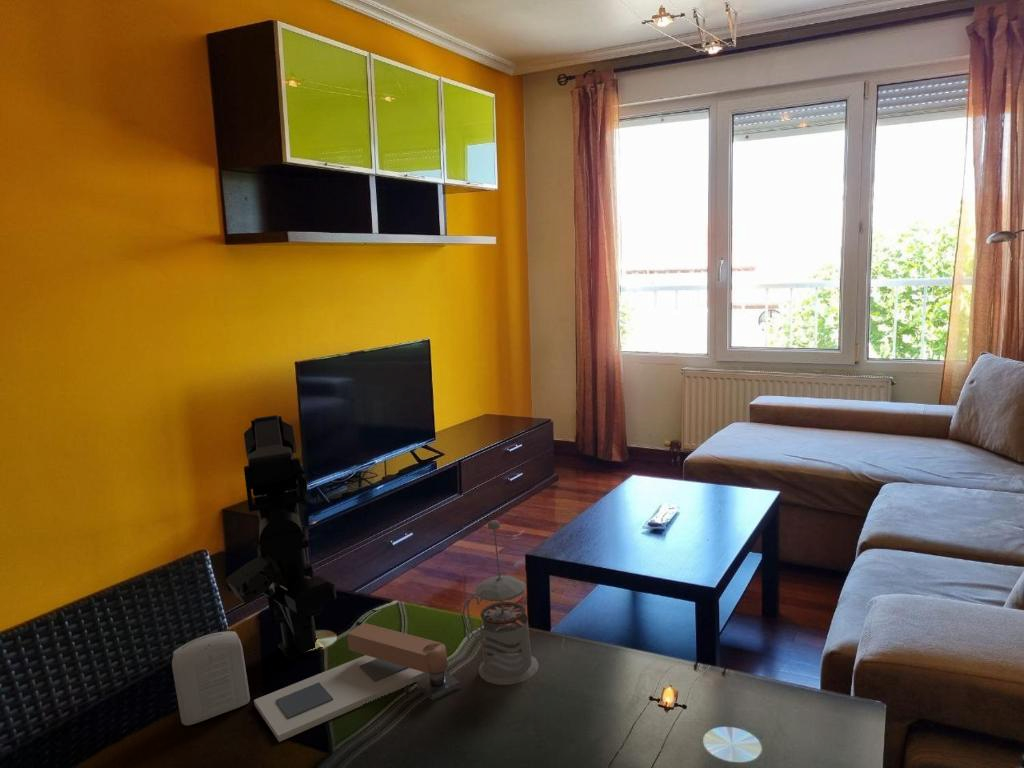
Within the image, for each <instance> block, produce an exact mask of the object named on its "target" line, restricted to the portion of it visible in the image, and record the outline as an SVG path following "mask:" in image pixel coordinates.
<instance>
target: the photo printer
mask: <svg viewBox="0 0 1024 768" xmlns="http://www.w3.org/2000/svg"><path fill="white" fill-rule="evenodd" d="M171 668H172V675H173V679H174V685H175V686H174V687H175V692H176V698H177V704H178V709H179V710H178V711H179V716H180V722H181V724H182V725H184V726H191V725H195V724H198V723H201V722H203V721H206V720H209V719H212V718H214V717H217V716H219V715H222V714H224V713H225V714H226V713H227V712H230V711H233V710H235V709H238V708H241V707H242V706H243V707H244V706H245V705H247V704H248V703H249V702H250V701H251V696H250V690H249V689H250V688H249V683H248V675H247V671H246V670H247V669H246V663H245V657H244V649H243V645H242V641H241V639H240V638H239V635H238V633H237V631H230V630H229V631H218V632H214V633H208V634H206V635H203V636H201V637H200V636H199V637H197V638H195V639H192V640H190V641H188V642H186V643H185V644H183V645H181V646H180V647H178V648H176V649H175V650H174V651H172V661H171Z"/></svg>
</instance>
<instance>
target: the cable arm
mask: <svg viewBox="0 0 1024 768" xmlns="http://www.w3.org/2000/svg"><path fill="white" fill-rule="evenodd" d="M346 637H347V644H348V645H347V646H348V650H349V651H351V652H353V653H358V654H361V655H363V656H365V655H367V656H370V657H374V658H377V659H381V660H384V661H388V662H391V663H394V664H398V665H401V666H405V667H408V668H411V669H415V670H418V671H422V672H425V673H439V672H442V671H444V670H445V671H446V669H447V668H448V666H449V665H448V664H449V663H448V656H447V647H446V645H445V644H444V643H443V642H441V641H435V640H432V639H429V638H428V639H427V638H424V637H420V636H416V635H413V634H409V633H405V632H402V631H401V632H400V631H397V630H393V629H390V628H385V627H381V626H378V625H374V624H370V623H367V622H362V623H361V624H359V625H358V626H356V627H355V628H353V629H351V630H350V631H348V632H347V633H346Z"/></svg>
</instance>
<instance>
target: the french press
mask: <svg viewBox="0 0 1024 768" xmlns="http://www.w3.org/2000/svg"><path fill="white" fill-rule="evenodd" d="M500 524H501V523H500V521H498V520H496V519H492V520H489V522H488V523H487V529H488V530H493V535H494V544H495V545H494V546H495V554H496V555H495V556H496V564H497V565H496V566H497V573H498V575H496V576H492V577H488V578H486V579H485V580H483V581H482V582H481V583H479V584H477V586H476V588H475V590H474V591H475V593H474V594H472V595H471V596H470V597H469V598H468V600H467V601H466V602H465V603H464V606H463V608H462V619H463V623H464V626H465V628H466V630H467V631H468V632H469V634H470V635H472V636H473V637H475V638H476V639H478V640H479V641H480V644H481V652H482V658H483V661H482V662H481V664H480V666H479V668H478V674H479V676H480V678H481V679H483V680H484V681H485V682H487V683H491V684H494V685H500V686H501V685H513V684H517V683H522V682H524V681H526V680H529V679H530V678H532V677H533V676H534V675H535V674H536V673H537V672H538V670H539V665H540V664H539V661H538V660H537V658H536V657H535V656H533V655H532V651H531V650H532V649H531V639H530V629H529V621H528V619H529V618H528V616H527V614H526V613H525V612H526V609H525V606H523V604H520V603H519V602H515V601H513V602H512V601H510V600H514V599H515V598H518V597H520V596H521V595H523V594H524V592H525V590H526V587H527V584H526V583H525V582H524V581H523V580H522V579H519V578H516V577H514V576H512V575H505V574H504V575H500V564H499V554H498V545H497V536H496V530H498V529H500V528H501V525H500ZM473 599H475V600H476V603H477V605H480V604H481V603H482V601H483V600H484V601H489V602H495V603H492V604H490V605H487V606H486V607H484V608H483V609H482V610H481V612H480V617H481V619H482V620H480V621H479V629H478V628H477V627H476V626H475V625H474V623H473V622H472V620H471V619H472V618H471V617H470V611H469V607H470V602H471V601H472V600H473ZM479 599H480V600H479ZM465 610H466V613H467V618H468V620H469V623H470V624H471V627H472V628H474V630H476V631H477V632H479V634H480V637H479V636H477V635H475V634H474V633H473V632H472V631H471V630H470V628H469V627H468V625H467V621H466V618H465V617H466V616H465ZM517 621H519V622H521V623H522V624H523V625H522V624H520V623H519V622H517ZM482 622H483V625H482ZM507 624H512V625H513V624H514V625H515V626H510V625H507ZM500 625H505V626H503V627H500V628H499V629H496V628H498V627H499V626H500ZM482 626H483V627H482ZM517 627H518V628H517ZM505 631H506V632H505ZM498 642H500V643H498ZM519 642H520V643H519Z"/></svg>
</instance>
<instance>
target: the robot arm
mask: <svg viewBox="0 0 1024 768" xmlns="http://www.w3.org/2000/svg"><path fill="white" fill-rule="evenodd" d="M250 423H251V426H250V427H248V429H246V430H245V431H244V432H243V438H244V439H243V440H244V447H245V454H246V457H247V465H244V466H243V472H244V479H245V480H244V481H245V489H246V497H247V504H248V511H249V513H250V512H254V511H257V515H258V521H259V526H258V528H259V530H258V534H259V537H258V539H259V540H258V541H259V544H258V547H257V548H256V549H257V550H256V552H257V556H256V557H255V558H254V559H252V560H250V561H247V562H246V563H245V564H244V565H242V566H241V567H239V568H238V569H237V570H235V571H234V572H232V573H231V574H230V575H229V576H227V578H226V583H227V585H228V586H229V588H230V589H231V591H232V592H233V594H234V595H235V597H236V599H238V600H240V601H241V602H242V603H243V604H249V603H251V602H253V601H254V600H255V599H256V598H259V597H260V596H261V595H262V594H264V595H265V596H267V604H268V610H269V614H270V616H269V617H270V620H271V625H272V626H275V625H278V624H280V628H281V637H282V641H281V642H279V643H277V647H278V646H279V647H278V649H279V648H280V649H281V650H282V651H283V652H284V653H285V654H286V656H287V657H288V658H292V657H294V656H295V655H297V654H298V653H300V654H301V653H303V652H305V651H308V650H310V649H313V648H315V642H316V640H317V638H316V636H317V633H316V632H317V630H316V625H315V618H314V617H315V616H319V615H320V616H321V614H322V613H321V612H322V611H324V610H325V606H324V605H325V604H327V603H329V602H332V601H334V600H336V599H337V597H338V596H337V591H336V585H335V584H334V583H332V582H330V581H328V580H326V579H325V578H324V577H321V576H320V575H315V576H313V577H312V573H314V571H313V565H311V564H309V563H307V557H306V551H305V549H307V548H309V547H310V543H309V539H306V538H305V537H304V532H303V527H302V522H301V516H300V509H299V503H304V502H305V495H304V494H308V487H307V482H306V474H305V470H304V464H303V463H302V462H300V458H298V457H294V454H297V446H296V438H295V433H294V426H293V425H291V424H290V423H287V422H285V421H283V418H282V415H277V414H274V415H268V416H267V415H266V416H262V417H261V416H259V417H255V418H254V419H251V420H250ZM297 488H298V492H297ZM253 496H254V497H255V498H254V501H253ZM259 496H260V497H259ZM280 644H281V645H280ZM280 649H279V650H280ZM281 650H280V651H281ZM282 651H281V652H282ZM283 652H282V653H283ZM284 653H283V654H284ZM285 654H284V655H285ZM291 655H292V656H291ZM286 656H285V657H286ZM287 657H286V658H287ZM288 658H287V659H288Z"/></svg>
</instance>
